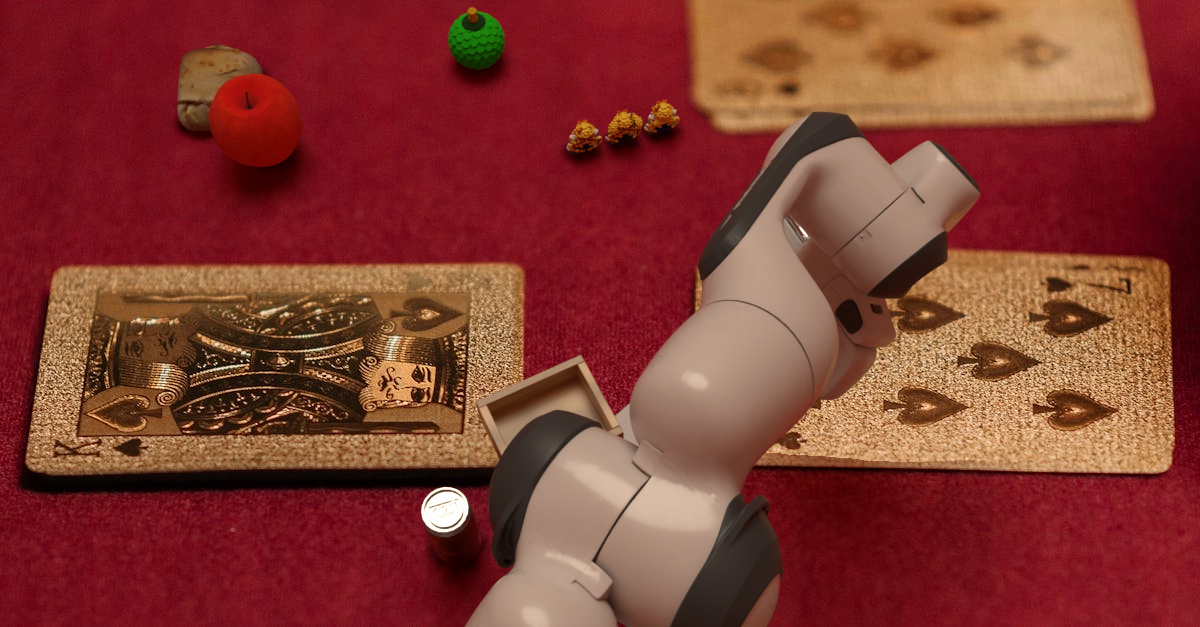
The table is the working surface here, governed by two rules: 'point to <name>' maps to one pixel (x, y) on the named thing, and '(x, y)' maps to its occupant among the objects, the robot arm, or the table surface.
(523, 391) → the beige open tray
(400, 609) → the table surface
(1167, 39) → the table surface
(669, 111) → the figurine set
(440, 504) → the beer can
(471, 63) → the ornament
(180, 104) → the pastry
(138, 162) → the table surface
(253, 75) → the apple
